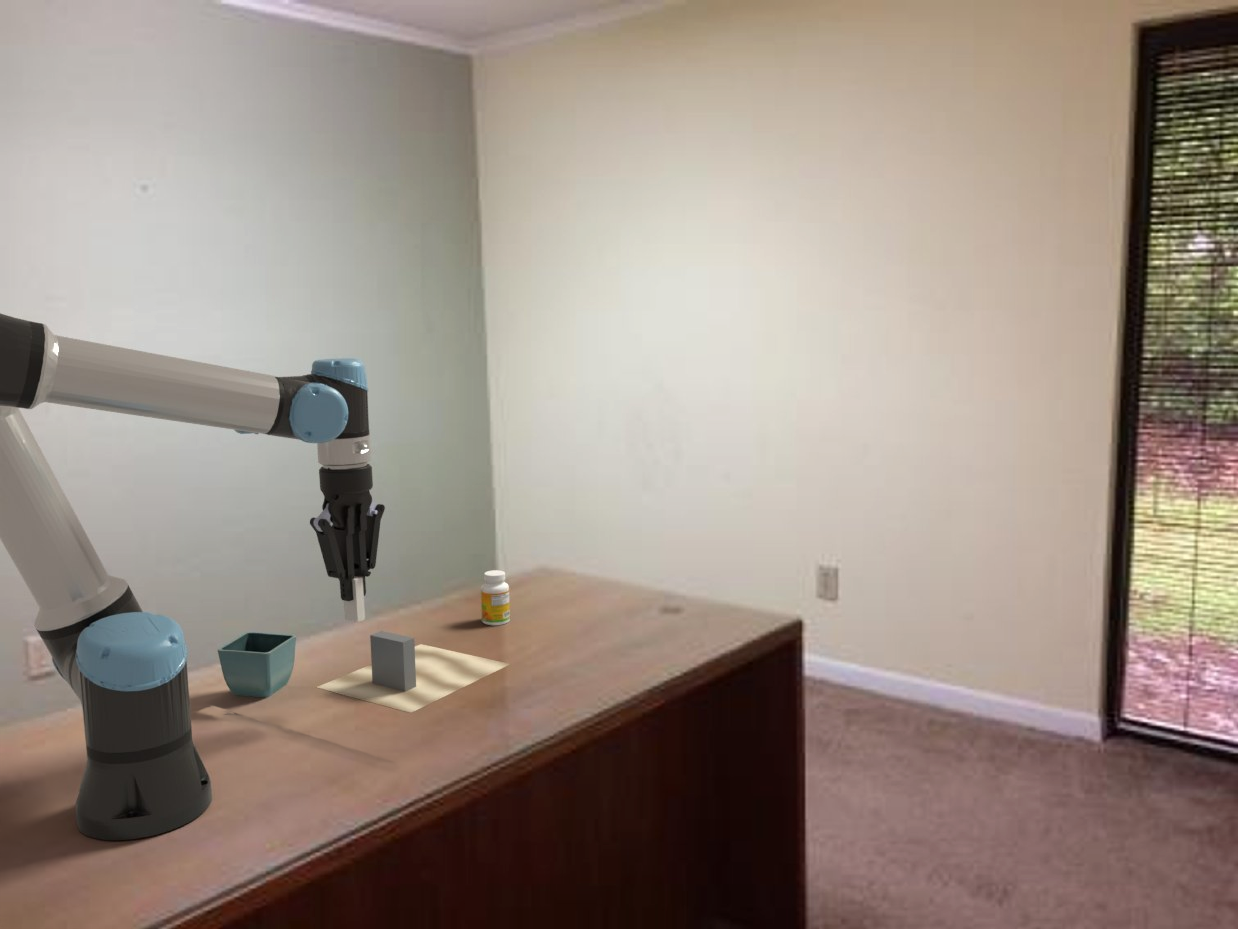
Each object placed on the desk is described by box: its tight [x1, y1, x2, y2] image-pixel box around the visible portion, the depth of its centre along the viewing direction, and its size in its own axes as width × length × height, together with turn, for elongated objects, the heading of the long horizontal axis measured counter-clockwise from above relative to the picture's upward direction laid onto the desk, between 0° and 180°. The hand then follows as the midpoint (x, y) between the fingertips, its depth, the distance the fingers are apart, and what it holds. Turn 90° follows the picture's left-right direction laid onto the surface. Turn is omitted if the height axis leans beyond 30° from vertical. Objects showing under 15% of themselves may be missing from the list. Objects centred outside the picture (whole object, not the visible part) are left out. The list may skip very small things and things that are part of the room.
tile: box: [369, 630, 416, 692], centre depth 163 cm, size 3×7×8 cm, turn 58°
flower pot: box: [217, 631, 297, 698], centre depth 162 cm, size 9×9×9 cm
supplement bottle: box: [480, 569, 511, 626], centre depth 199 cm, size 5×5×10 cm
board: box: [316, 643, 511, 714], centre depth 168 cm, size 24×20×1 cm
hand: (355, 619), depth 155 cm, fingers closed
